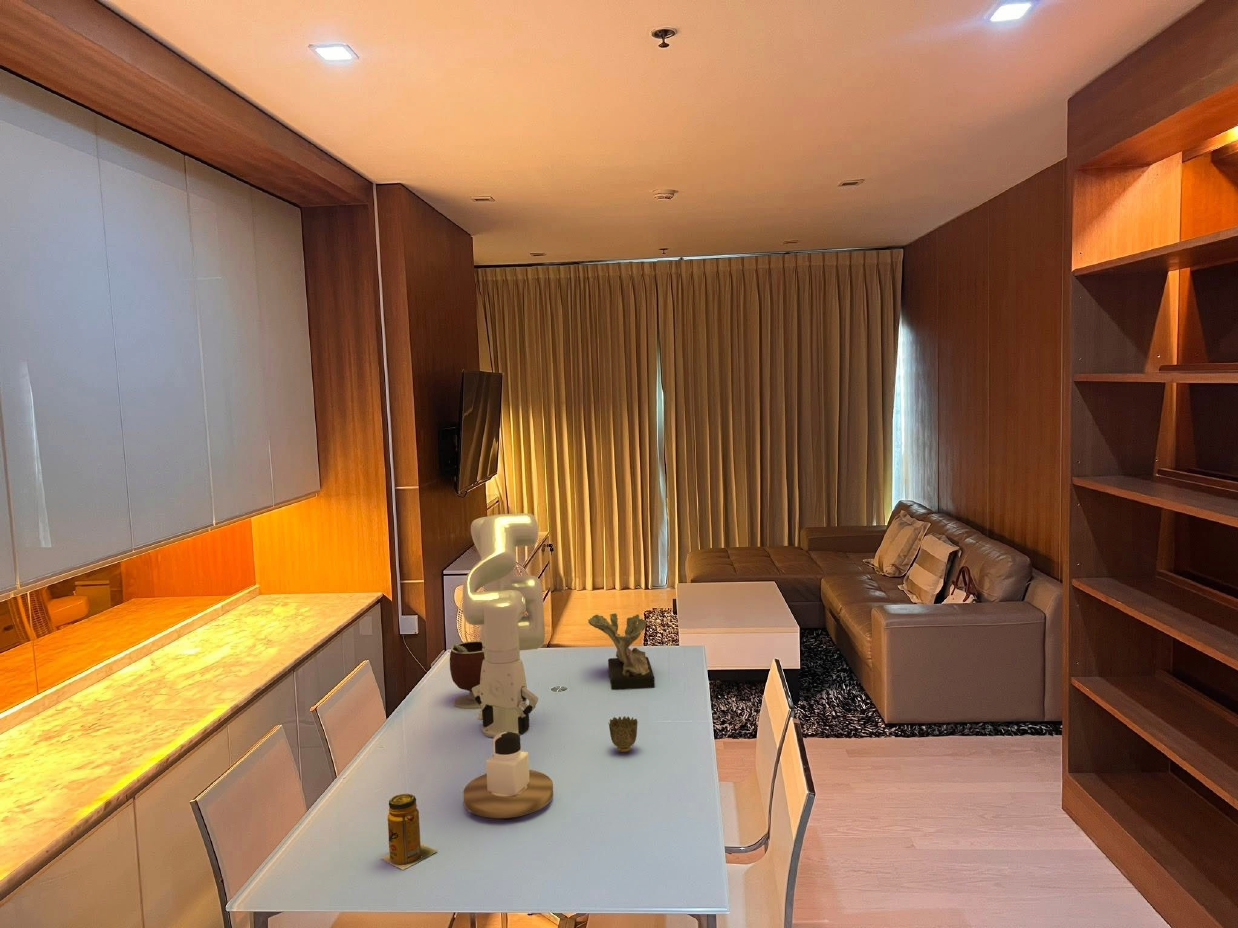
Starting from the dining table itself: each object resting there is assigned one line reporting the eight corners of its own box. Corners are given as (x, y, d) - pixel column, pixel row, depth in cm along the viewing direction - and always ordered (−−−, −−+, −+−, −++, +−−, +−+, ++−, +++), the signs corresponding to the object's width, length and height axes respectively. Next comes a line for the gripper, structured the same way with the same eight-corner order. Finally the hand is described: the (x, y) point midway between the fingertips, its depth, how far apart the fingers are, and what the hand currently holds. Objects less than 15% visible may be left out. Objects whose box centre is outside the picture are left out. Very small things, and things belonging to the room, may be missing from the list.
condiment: (380, 858, 166) (377, 800, 166) (416, 841, 173) (413, 784, 172) (402, 870, 162) (399, 810, 161) (438, 852, 168) (435, 794, 167)
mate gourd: (469, 691, 264) (466, 629, 263) (506, 697, 258) (503, 633, 257) (438, 708, 251) (435, 642, 249) (476, 714, 244) (473, 647, 243)
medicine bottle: (530, 782, 191) (528, 730, 190) (515, 796, 184) (513, 742, 183) (502, 778, 193) (500, 727, 192) (486, 791, 187) (484, 739, 186)
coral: (655, 691, 259) (653, 623, 257) (589, 694, 258) (587, 626, 257) (650, 667, 284) (648, 604, 282) (590, 669, 283) (588, 606, 282)
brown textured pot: (635, 758, 210) (634, 727, 209) (606, 756, 212) (605, 725, 211) (640, 746, 217) (639, 716, 217) (613, 744, 219) (612, 715, 218)
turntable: (548, 817, 178) (547, 789, 178) (454, 818, 179) (453, 791, 179) (557, 775, 198) (556, 751, 198) (473, 777, 199) (472, 753, 198)
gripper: (461, 654, 187) (464, 728, 189) (525, 664, 179) (528, 741, 181) (481, 644, 194) (484, 716, 196) (544, 654, 186) (547, 728, 187)
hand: (505, 728), depth 188 cm, fingers open, 9 cm apart
